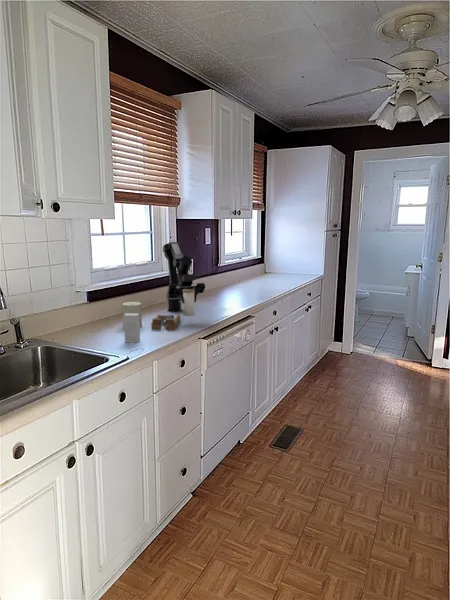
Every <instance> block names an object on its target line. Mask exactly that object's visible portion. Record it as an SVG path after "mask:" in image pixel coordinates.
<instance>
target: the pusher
mask: <svg viewBox="0 0 450 600" xmlns="http://www.w3.org/2000/svg"><path fill="white" fill-rule="evenodd" d="M157 315H158V314H157ZM158 318H159V319H161V325H166V319H174V320H175V315H174V314H161V315H158Z"/></svg>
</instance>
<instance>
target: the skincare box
mask: <svg viewBox="0 0 450 600" xmlns="http://www.w3.org/2000/svg"><path fill="white" fill-rule="evenodd" d="M140 329H141V327H139V313H126V314H125V315H124V327H123V331H124V342H125V343H139V342H140V340H141V333H140V332H141V331H140Z"/></svg>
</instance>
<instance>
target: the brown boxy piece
mask: <svg viewBox="0 0 450 600" xmlns="http://www.w3.org/2000/svg"><path fill="white" fill-rule="evenodd" d="M158 315H162V314H161V313H157V315H156V316H155V318H152V322H151V326H150V328H151V330H152V329H157V330H158V329H159V330H162V324H161V319H159V318H158ZM180 321H181V314H180V313H179V314H178V313H177V314H176V317H174V319H166V324H165V330H166V331H167V330H169V331H175V330H176V329H177V327H178V324H179V322H180Z"/></svg>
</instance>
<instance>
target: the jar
mask: <svg viewBox="0 0 450 600" xmlns="http://www.w3.org/2000/svg"><path fill="white" fill-rule="evenodd" d="M194 292H195V289H192V288H186V289H183V298H184V303H183V302H182V304H183V305H182V311H183V312H182V313H183V316H185V317H192V316H195V302H194Z"/></svg>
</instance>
